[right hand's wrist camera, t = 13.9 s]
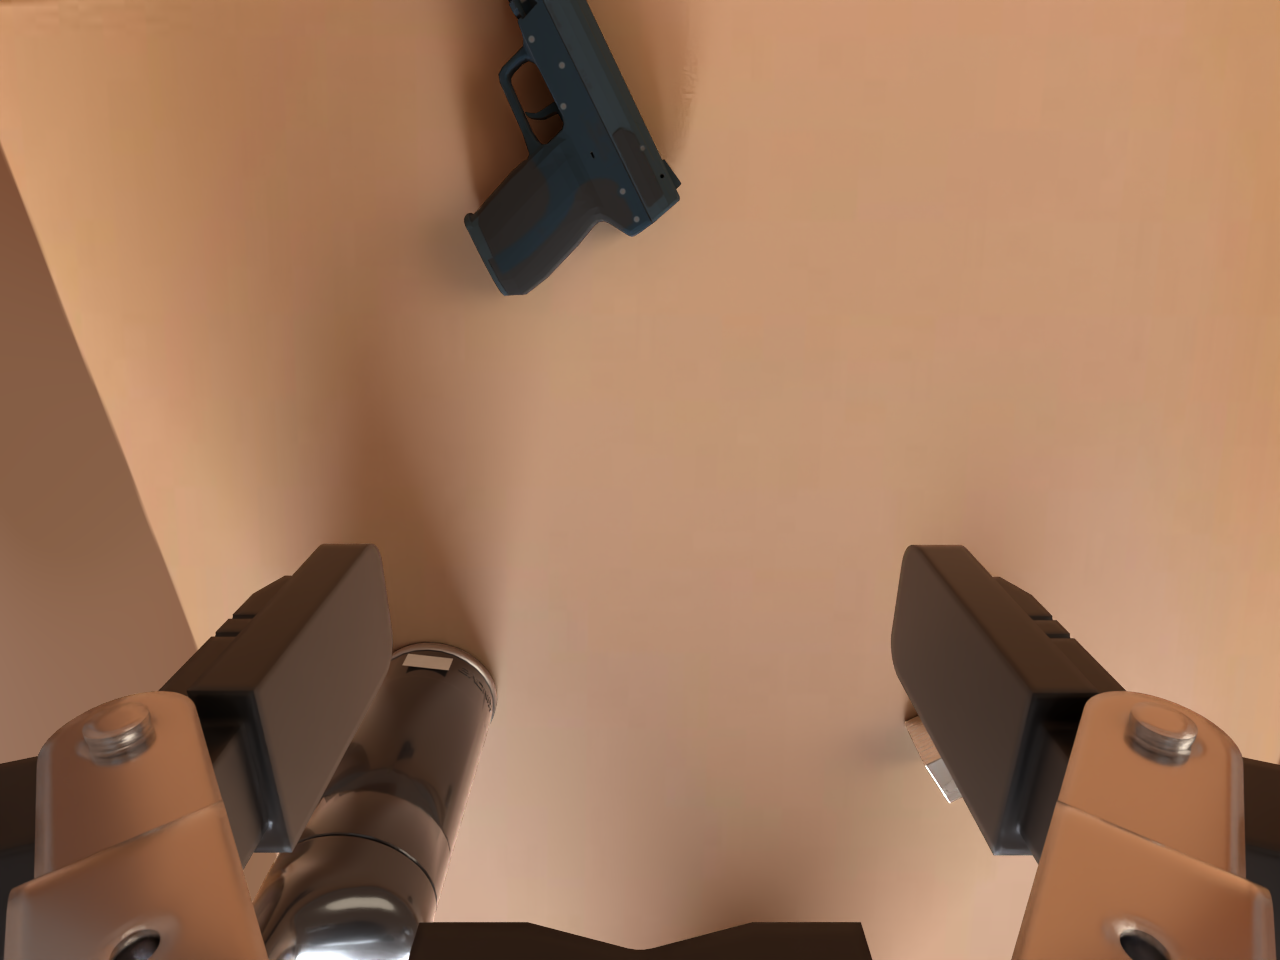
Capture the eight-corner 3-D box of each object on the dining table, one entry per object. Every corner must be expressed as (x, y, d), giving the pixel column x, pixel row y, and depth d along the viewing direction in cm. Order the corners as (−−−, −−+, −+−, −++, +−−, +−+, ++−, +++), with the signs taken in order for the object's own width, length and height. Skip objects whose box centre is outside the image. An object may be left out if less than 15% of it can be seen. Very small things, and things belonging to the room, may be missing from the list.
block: (951, 699, 56) (976, 741, 51) (973, 736, 57) (1000, 780, 53) (903, 721, 56) (924, 765, 52) (926, 758, 58) (949, 803, 54)
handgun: (348, 7, 39) (540, -123, 37) (517, 300, 44) (692, 202, 42) (323, -10, 36) (530, -151, 34) (507, 307, 41) (696, 202, 39)
